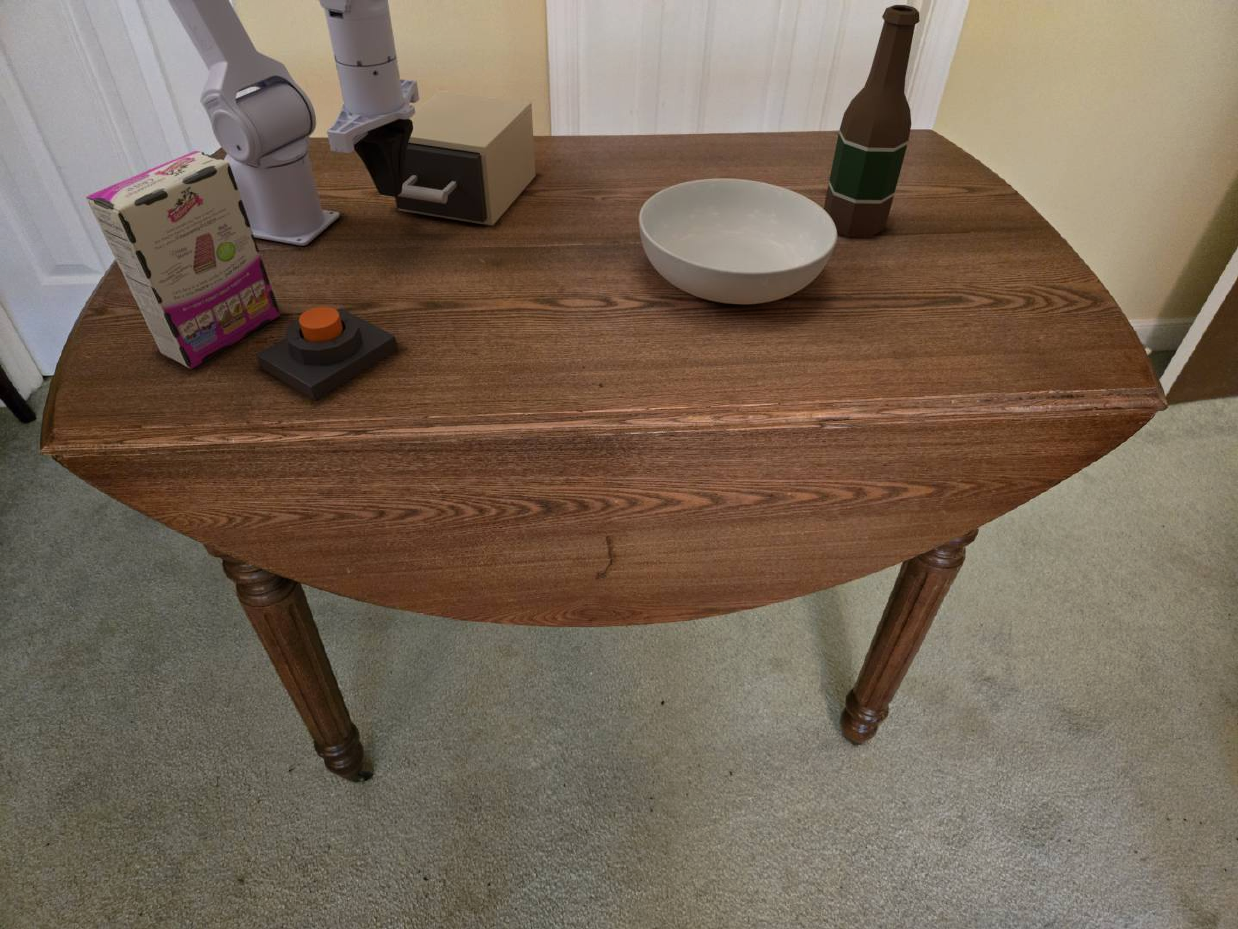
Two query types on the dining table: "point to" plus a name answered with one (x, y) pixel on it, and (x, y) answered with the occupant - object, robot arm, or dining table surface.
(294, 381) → the control block
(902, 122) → the beer bottle
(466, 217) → the drawer
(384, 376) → the dining table surface
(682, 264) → the serving bowl
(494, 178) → the cabinet
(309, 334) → the button
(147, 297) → the candy bar box
